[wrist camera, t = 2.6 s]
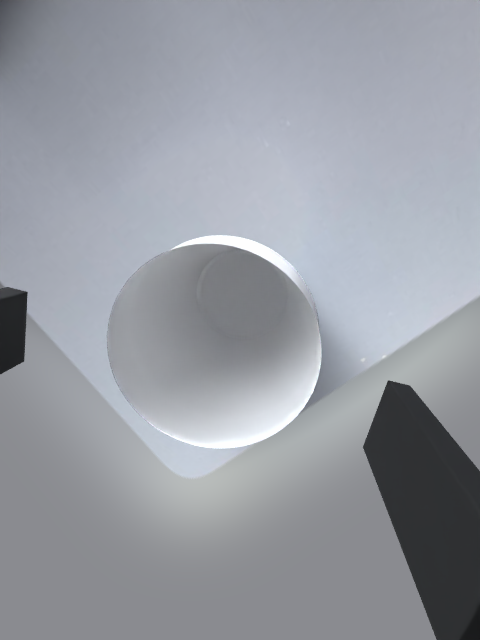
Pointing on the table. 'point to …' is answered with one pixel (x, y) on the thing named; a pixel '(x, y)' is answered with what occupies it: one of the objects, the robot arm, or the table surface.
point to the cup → (216, 342)
